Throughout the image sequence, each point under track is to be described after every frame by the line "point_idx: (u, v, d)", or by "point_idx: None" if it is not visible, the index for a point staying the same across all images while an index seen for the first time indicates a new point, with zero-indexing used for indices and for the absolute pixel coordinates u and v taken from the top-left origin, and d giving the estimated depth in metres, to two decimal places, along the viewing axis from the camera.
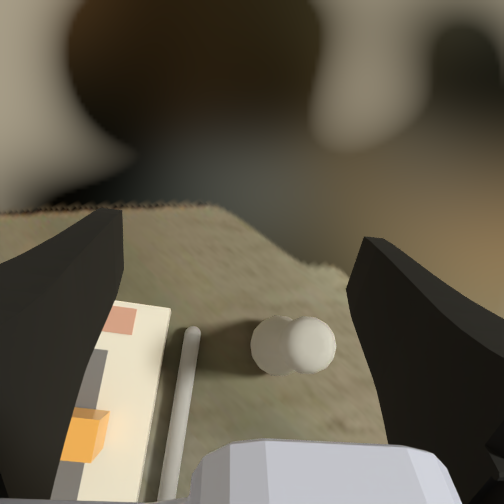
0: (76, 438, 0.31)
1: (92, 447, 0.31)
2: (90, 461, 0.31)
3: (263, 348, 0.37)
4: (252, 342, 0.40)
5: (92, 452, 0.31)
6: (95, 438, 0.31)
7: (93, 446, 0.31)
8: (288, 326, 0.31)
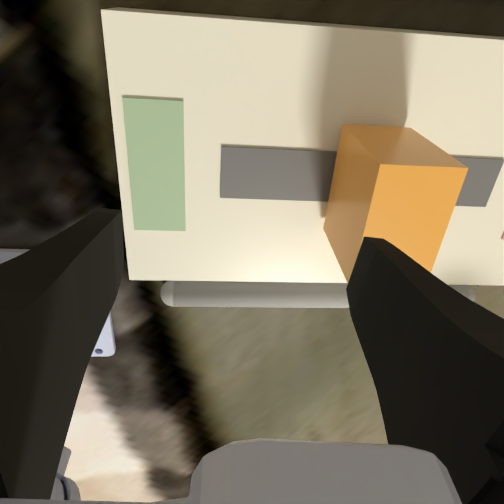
0: None
1: None
2: None
3: None
4: None
5: None
6: None
7: None
8: None
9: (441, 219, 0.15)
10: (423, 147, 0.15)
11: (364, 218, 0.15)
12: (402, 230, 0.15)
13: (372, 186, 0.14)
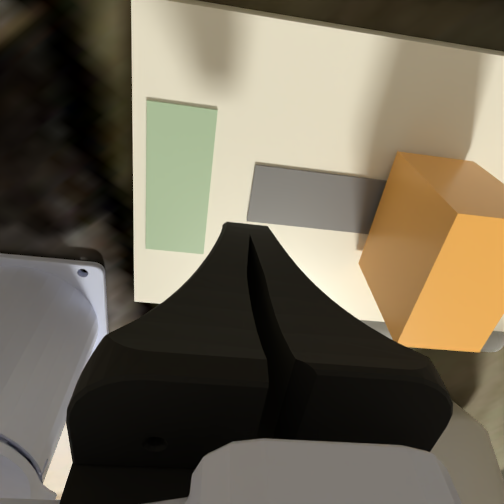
0: (456, 318, 0.13)
1: (427, 345, 0.14)
2: None
3: (474, 479, 0.24)
4: (464, 429, 0.26)
5: (416, 345, 0.14)
6: None
7: (428, 346, 0.14)
8: None
9: None
10: (497, 190, 0.13)
11: (426, 270, 0.12)
12: (468, 287, 0.12)
13: (442, 237, 0.12)
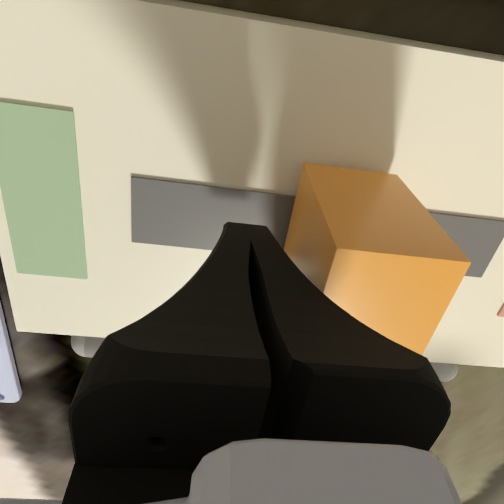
0: None
1: None
2: None
3: None
4: None
5: None
6: None
7: None
8: None
9: (424, 326, 0.10)
10: (408, 214, 0.11)
11: None
12: None
13: (324, 276, 0.09)
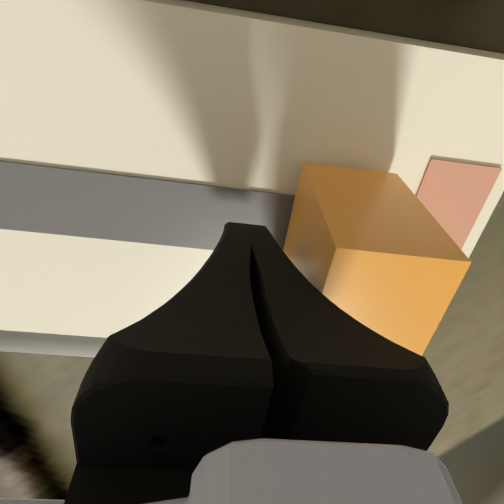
0: None
1: None
2: None
3: None
4: None
5: None
6: None
7: None
8: None
9: (424, 326, 0.10)
10: (408, 213, 0.10)
11: None
12: None
13: (324, 275, 0.09)
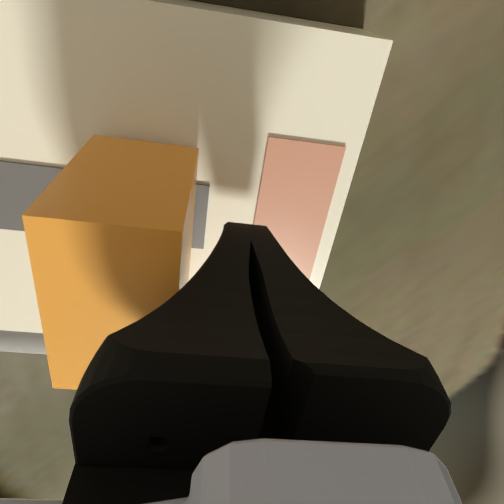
0: None
1: None
2: (57, 385, 0.10)
3: None
4: None
5: None
6: None
7: None
8: None
9: None
10: (162, 184, 0.10)
11: (41, 292, 0.09)
12: (104, 315, 0.09)
13: (32, 248, 0.08)
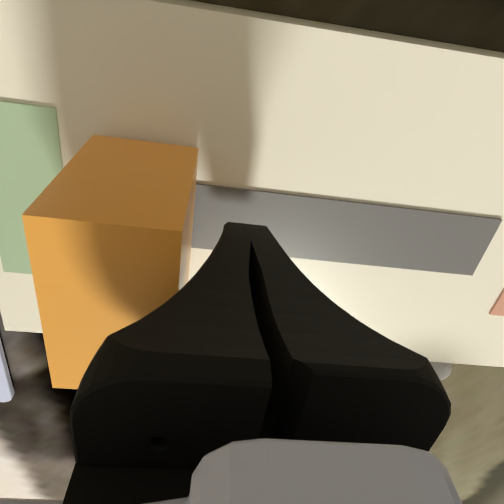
0: None
1: None
2: (57, 384, 0.11)
3: None
4: None
5: None
6: None
7: None
8: None
9: None
10: (162, 184, 0.10)
11: (40, 291, 0.09)
12: (104, 315, 0.09)
13: (32, 248, 0.08)
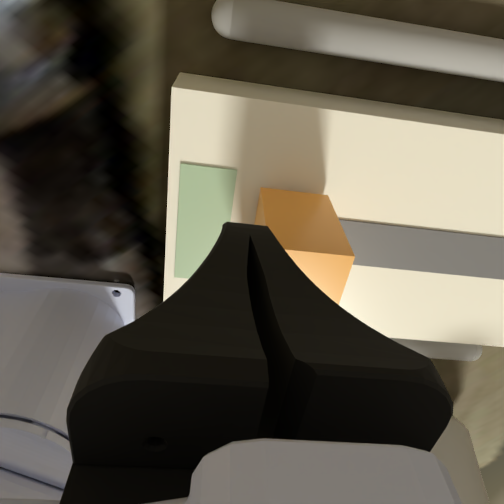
0: None
1: None
2: None
3: (454, 472, 0.27)
4: (447, 429, 0.29)
5: None
6: None
7: None
8: None
9: (332, 298, 0.15)
10: (325, 224, 0.16)
11: None
12: None
13: None
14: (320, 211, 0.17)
